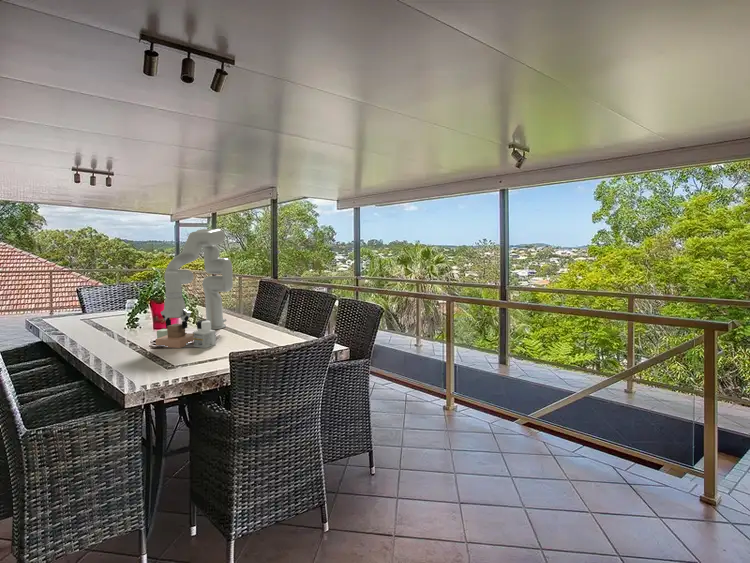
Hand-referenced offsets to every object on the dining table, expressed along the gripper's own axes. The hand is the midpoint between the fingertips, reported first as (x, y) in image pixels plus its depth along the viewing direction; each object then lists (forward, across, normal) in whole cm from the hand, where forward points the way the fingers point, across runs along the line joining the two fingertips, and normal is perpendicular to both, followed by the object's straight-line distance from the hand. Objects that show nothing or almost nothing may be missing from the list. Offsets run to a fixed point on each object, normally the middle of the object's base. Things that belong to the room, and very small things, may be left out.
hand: (176, 327), depth 228 cm
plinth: (+8, 0, -1) cm, 8 cm away
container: (+8, +17, -2) cm, 19 cm away
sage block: (+9, -15, +8) cm, 19 cm away
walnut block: (+4, 0, -1) cm, 4 cm away
